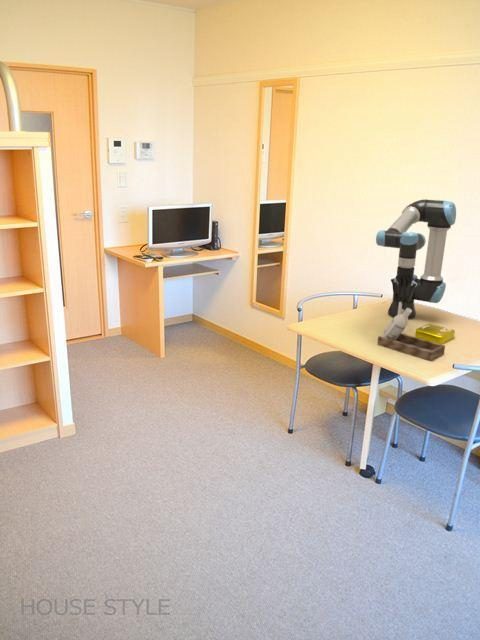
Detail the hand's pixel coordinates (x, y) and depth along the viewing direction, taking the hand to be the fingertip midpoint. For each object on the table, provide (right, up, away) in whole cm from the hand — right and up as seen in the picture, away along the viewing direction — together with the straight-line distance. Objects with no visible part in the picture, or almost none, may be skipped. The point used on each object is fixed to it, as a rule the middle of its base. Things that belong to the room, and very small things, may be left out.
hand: (400, 314), depth 256 cm
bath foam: (-4, -12, +8) cm, 15 cm away
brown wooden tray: (+5, -16, 0) cm, 17 cm away
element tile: (+22, -12, +17) cm, 30 cm away
